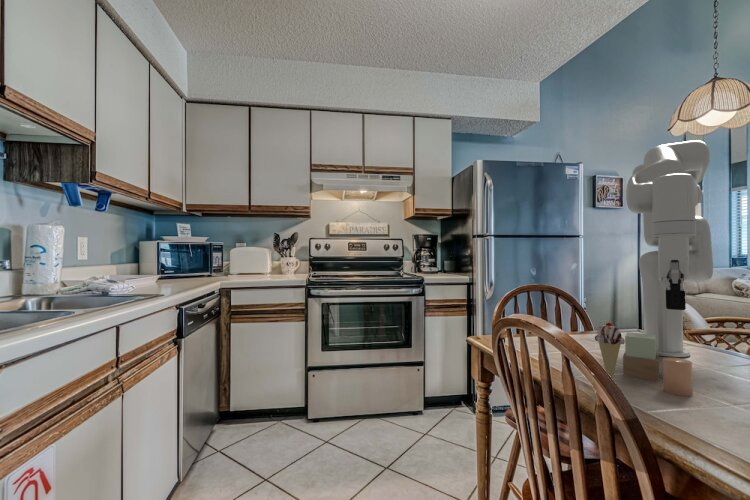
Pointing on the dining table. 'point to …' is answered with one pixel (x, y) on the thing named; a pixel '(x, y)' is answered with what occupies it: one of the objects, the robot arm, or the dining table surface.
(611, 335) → the ice cream cone
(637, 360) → the base block
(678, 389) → the tan rounded capsule
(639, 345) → the pale green block
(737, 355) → the dining table surface
